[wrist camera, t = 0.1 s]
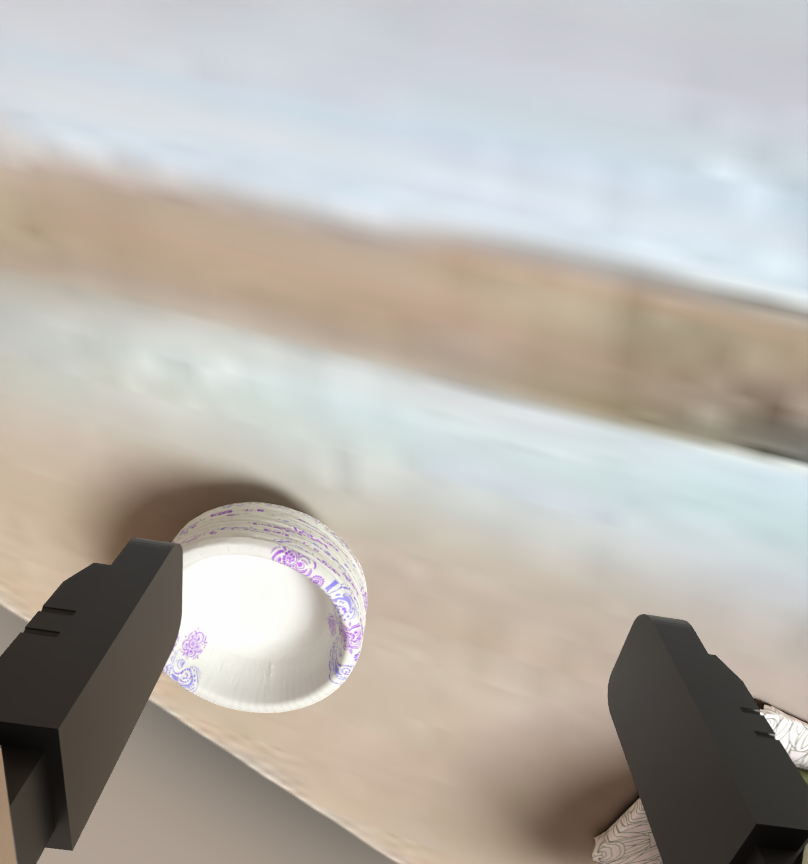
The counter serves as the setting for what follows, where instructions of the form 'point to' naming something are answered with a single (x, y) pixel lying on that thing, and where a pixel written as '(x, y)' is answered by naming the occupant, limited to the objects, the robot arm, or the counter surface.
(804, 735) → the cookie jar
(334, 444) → the counter surface
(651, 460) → the counter surface
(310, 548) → the paper bowls
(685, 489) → the counter surface
